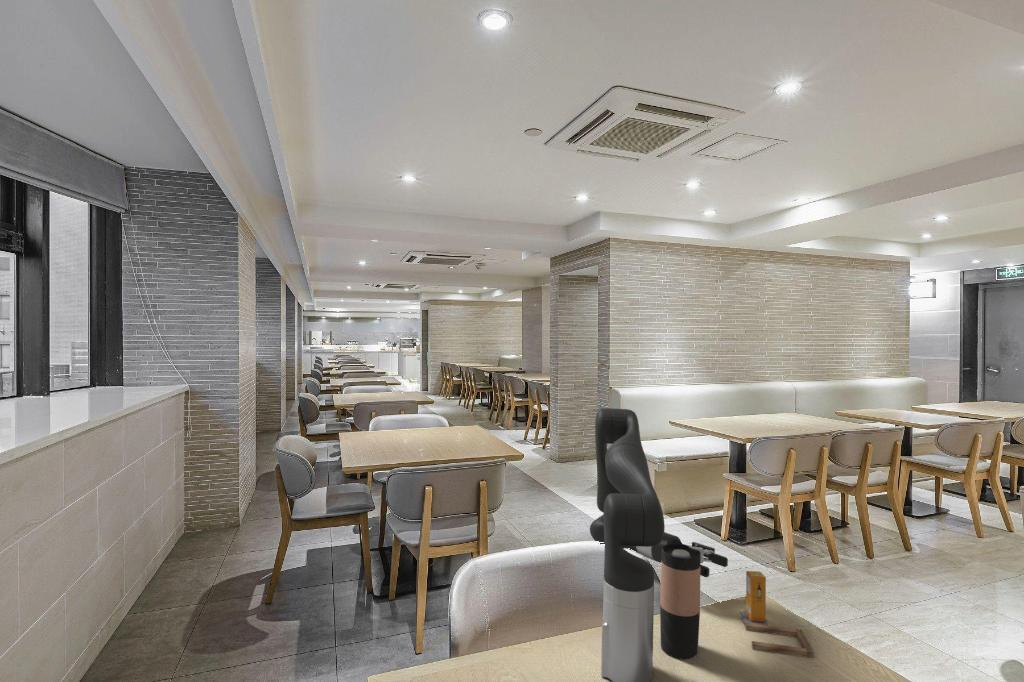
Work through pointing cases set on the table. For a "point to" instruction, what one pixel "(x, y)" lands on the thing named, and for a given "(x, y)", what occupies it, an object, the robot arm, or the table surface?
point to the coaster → (747, 620)
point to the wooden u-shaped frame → (803, 651)
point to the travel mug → (680, 600)
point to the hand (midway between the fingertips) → (718, 567)
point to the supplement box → (756, 596)
